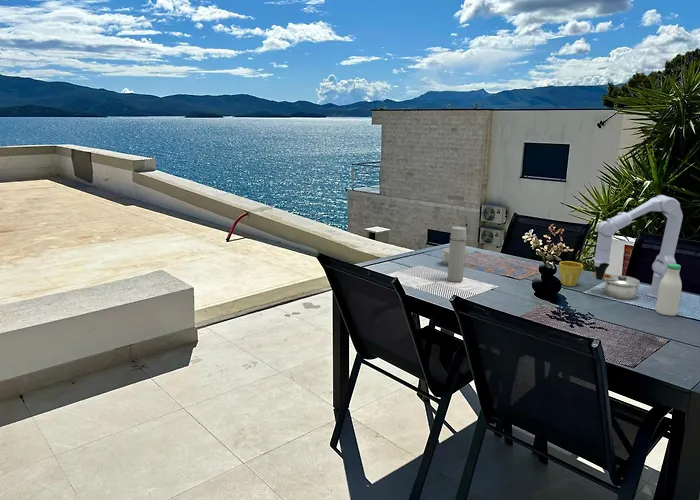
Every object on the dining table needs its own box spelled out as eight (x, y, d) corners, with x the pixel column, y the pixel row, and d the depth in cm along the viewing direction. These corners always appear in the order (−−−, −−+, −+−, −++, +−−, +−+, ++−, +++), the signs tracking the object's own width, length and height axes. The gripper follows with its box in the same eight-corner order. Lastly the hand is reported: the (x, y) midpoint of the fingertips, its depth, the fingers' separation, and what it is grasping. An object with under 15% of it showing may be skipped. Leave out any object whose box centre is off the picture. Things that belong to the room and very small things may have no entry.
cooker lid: (644, 282, 237) (645, 277, 237) (632, 288, 228) (633, 283, 228) (600, 273, 250) (601, 268, 250) (587, 278, 241) (588, 273, 241)
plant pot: (582, 288, 247) (585, 267, 245) (558, 286, 249) (561, 266, 247) (578, 282, 257) (580, 261, 255) (555, 280, 259) (557, 260, 257)
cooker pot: (643, 299, 233) (645, 286, 232) (615, 300, 232) (617, 287, 230) (617, 286, 251) (619, 274, 249) (591, 287, 249) (592, 275, 248)
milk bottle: (676, 317, 213) (685, 268, 208) (654, 313, 217) (662, 265, 212) (677, 312, 219) (686, 264, 214) (655, 308, 223) (663, 260, 218)
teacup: (457, 261, 290) (458, 246, 288) (472, 266, 279) (473, 251, 277) (433, 263, 284) (434, 248, 282) (447, 269, 273) (448, 254, 271)
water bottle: (456, 283, 250) (460, 230, 244) (443, 279, 255) (446, 227, 249) (469, 280, 256) (473, 228, 250) (455, 276, 261) (459, 225, 255)
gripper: (598, 244, 244) (594, 274, 247) (588, 250, 233) (584, 280, 236) (615, 247, 240) (611, 277, 243) (606, 253, 229) (601, 284, 232)
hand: (599, 279), depth 239 cm, fingers closed
